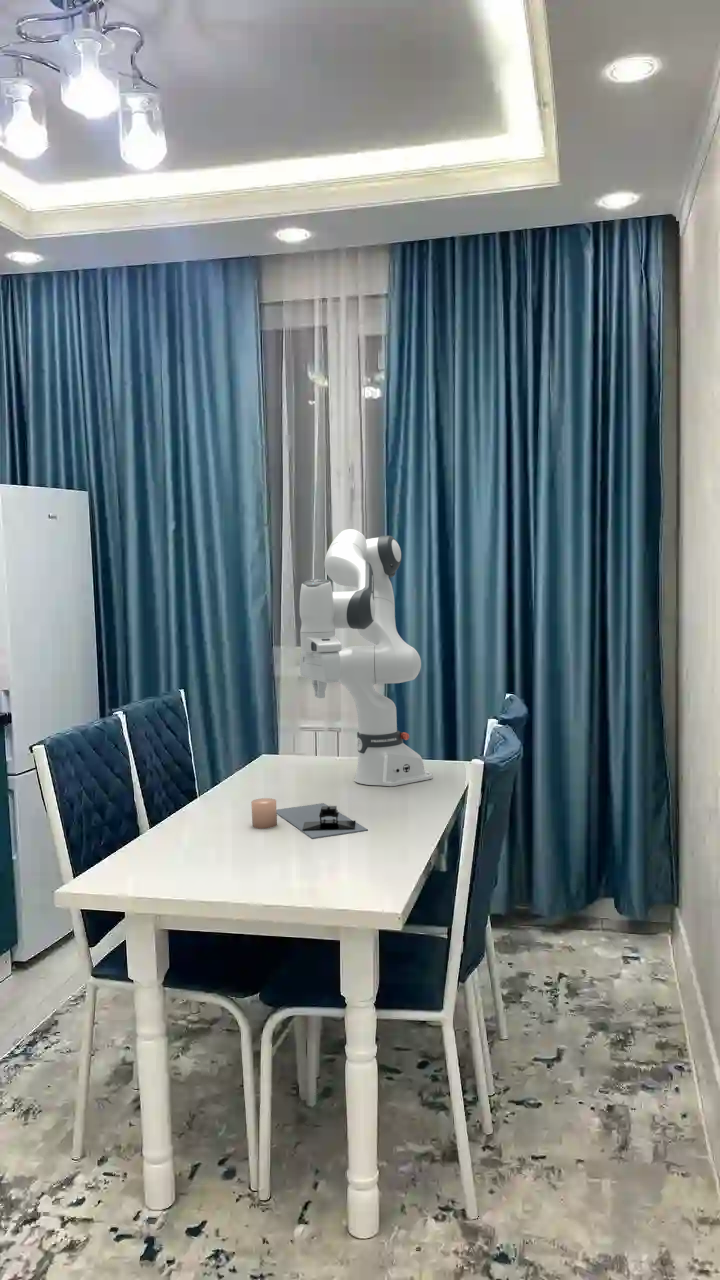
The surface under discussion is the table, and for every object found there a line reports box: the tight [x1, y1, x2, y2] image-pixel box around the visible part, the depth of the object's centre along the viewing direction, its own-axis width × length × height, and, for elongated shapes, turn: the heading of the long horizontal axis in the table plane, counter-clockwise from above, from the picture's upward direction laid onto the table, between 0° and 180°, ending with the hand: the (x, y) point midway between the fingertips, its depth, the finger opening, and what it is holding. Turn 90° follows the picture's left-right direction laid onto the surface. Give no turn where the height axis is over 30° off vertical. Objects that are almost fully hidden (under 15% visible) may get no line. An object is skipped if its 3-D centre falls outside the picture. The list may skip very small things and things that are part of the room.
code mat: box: [276, 802, 368, 840], centre depth 247 cm, size 14×29×1 cm, turn 23°
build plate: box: [301, 805, 357, 832], centre depth 240 cm, size 12×7×5 cm, turn 88°
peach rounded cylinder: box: [250, 797, 278, 830], centre depth 244 cm, size 6×6×6 cm
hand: (319, 697), depth 255 cm, fingers closed
